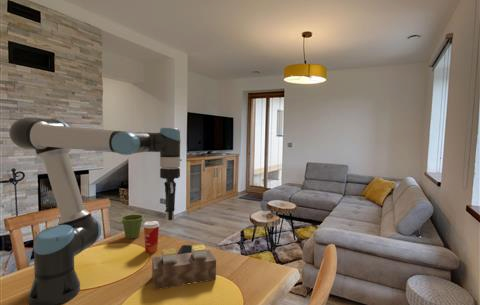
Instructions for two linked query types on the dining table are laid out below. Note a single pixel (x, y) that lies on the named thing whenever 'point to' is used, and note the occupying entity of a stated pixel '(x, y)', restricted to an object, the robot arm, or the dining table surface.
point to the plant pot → (132, 225)
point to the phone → (185, 249)
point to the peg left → (168, 256)
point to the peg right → (198, 252)
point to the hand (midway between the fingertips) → (169, 227)
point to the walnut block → (183, 270)
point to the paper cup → (151, 236)
